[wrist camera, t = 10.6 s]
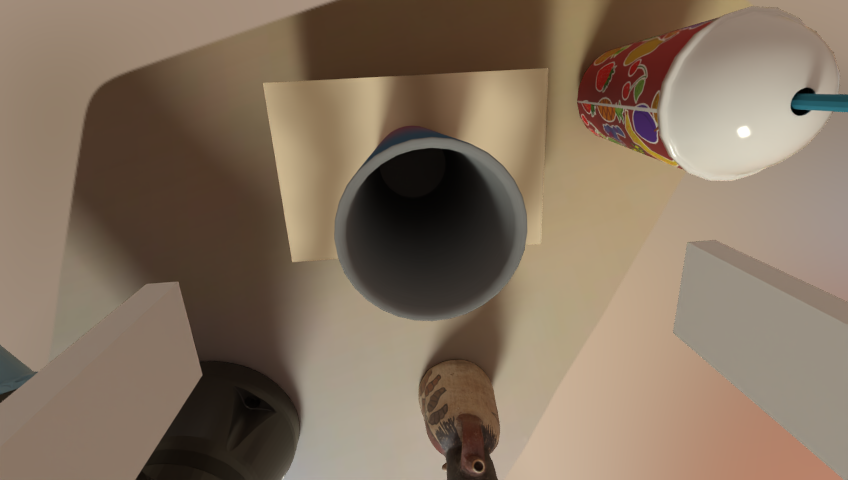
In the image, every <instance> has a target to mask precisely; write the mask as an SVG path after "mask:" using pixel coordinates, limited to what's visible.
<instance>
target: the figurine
mask: <svg viewBox="0 0 848 480" xmlns="http://www.w3.org/2000/svg"><path fill="white" fill-rule="evenodd" d="M419 404H420V408H421V411H422V414H423V416H424V421H425V425H426V430H427V434H428V437H429V439H430V441H431V443H432V444H433V446H434V447H435V448H436V449H437V450H438V451H439V452H440V453H441V454H443V455H444V456H445V457H446V462H447V463H445V464H444V465H443V466H442V469H443V470H444V471H447V480H498V479H497V476H496V472H495V468H494V465H493V462H492V460H491V458H490V455H489V454H491V453H492V451H493V450H494V449H495V448H496V446H497V445H498V441H499V435H500V424H499V418H498V411H497V407H496V402H495V396H494V390H493V387H492V384H491V382H490V380H489V378H488V376H487V375H486V374H485V373H484V372H483V370H482V369H481V368H480V367H478V366H477V365H475V364H474V363H472V362H469V361H466V360H449V361H444V362H442V363H440V364H437V365H435V366H434V367H432V368H431V369H429V370H428V372H427V373H426V375H425V376H424V378H423V379H422V381H421V383H420V387H419Z"/></svg>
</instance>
